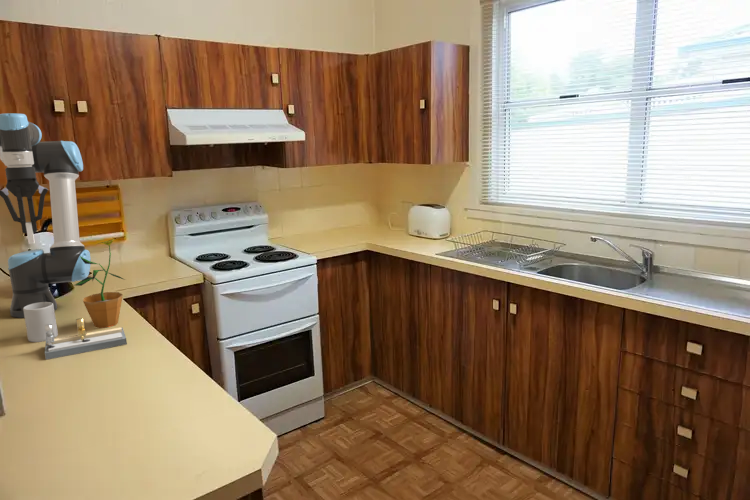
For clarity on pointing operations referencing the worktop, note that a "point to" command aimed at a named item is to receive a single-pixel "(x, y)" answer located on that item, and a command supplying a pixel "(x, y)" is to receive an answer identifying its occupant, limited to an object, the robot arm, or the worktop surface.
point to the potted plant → (102, 299)
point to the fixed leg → (49, 334)
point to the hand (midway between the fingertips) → (31, 243)
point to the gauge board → (85, 343)
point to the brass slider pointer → (81, 328)
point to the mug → (39, 320)
